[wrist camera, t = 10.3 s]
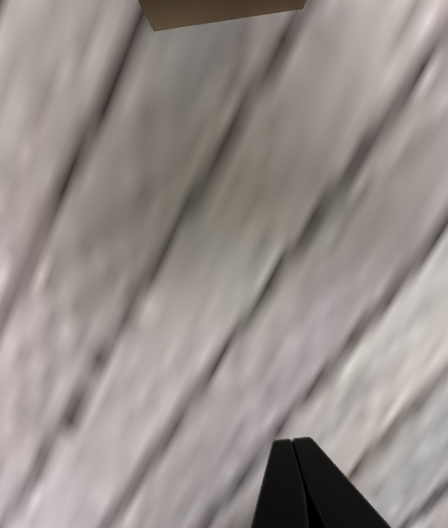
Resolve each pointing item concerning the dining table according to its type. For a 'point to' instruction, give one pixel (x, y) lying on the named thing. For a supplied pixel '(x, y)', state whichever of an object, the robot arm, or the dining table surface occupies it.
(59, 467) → the dining table surface
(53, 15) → the dining table surface
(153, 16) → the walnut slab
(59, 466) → the dining table surface
